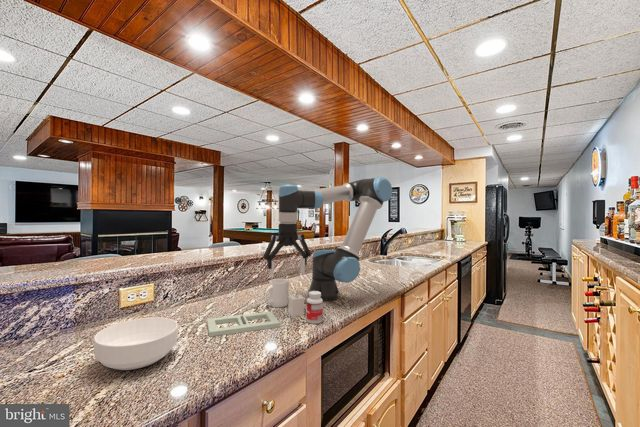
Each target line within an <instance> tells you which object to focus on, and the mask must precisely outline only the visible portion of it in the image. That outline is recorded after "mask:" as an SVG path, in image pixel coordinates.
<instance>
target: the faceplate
mask: <svg viewBox="0 0 640 427" xmlns="http://www.w3.org/2000/svg"><path fill="white" fill-rule="evenodd" d="M261 319H266V320H267V321H265V322H264V321H263V322H256V323H249V321H253V320H261ZM236 322H237V325H232V326H226V327H217V325H221V324H229V323H236ZM206 325H207V332H208V337H209V338H210V337H218V336H225V335H232V334H233V335H234V334H238V333H239V334H240V333H247V332H252V331H261V330H268V329H275V328H280V327H281V322H280V321H279V320H278V318H276V316H275V315H274V313H273V312H272V311H263V312H257V313H256V312H254V313H246V314H237V315H229V316H220V317H212V318H211V317H210V318H207V320H206Z"/></svg>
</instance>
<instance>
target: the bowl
mask: <svg viewBox="0 0 640 427" xmlns="http://www.w3.org/2000/svg"><path fill="white" fill-rule="evenodd" d="M178 333H179V324H178V322H177V321H176V320H174V319H171V318H169V317H168V318H167V317H158V316H157V317H153V316H152V317H142V318H134V319H129V320H125V321H121V322H118V323H114V324H112V325H109V326H107V327H105V328H103V329H101V330H100V331H98V332H97V333H96V334H95V335H94V338H93V353H94V359H95V360H96V361H98V362H99V363H101V364H102V366H105V367H106V368H111V369H113V370H116V371H117V370H118V371H131V370H137V369H141V368H144V367H148V366H150V365H153V364H154V363H156V362H158V361H160V360H162V359H163V357H166V356H167V355H168V354H169V353H170V352H171V350H172V348H174V347H175V346H176V344H177V342H178Z"/></svg>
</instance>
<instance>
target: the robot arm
mask: <svg viewBox="0 0 640 427" xmlns="http://www.w3.org/2000/svg"><path fill="white" fill-rule="evenodd" d="M298 188H299V187H298V185H296V184H281V185H280V186H279V188H278V234H277V235H273V234H272V235H270V240H269V243H268V244H267V248H266V249H265V251H264V253H263V256H262V258H263V259H264V260H267V263H266V264H267V269H269V277H270V278H271V279H273V278H274V277H275V276H274V274H275V273H274V272H275V261H274V260H273V259H274V258H275V257H276V255H277V254H278V253H279V252H280V250H281V249H282V248H283V247H294V248H295V250H297V252H298V254H300V256H301V257H300V263H299V264H300V270H299V271H300V274H302V275H305V273H306V266H307V263H308V261H307V259H308V258H309V257H310V256H312V266H311V267H312V268H311V269H312V270H311V272H312V275H311V277H312V278H311V284H310V286H309V289H308V293H307V296H308V297H309V292H310V291H319V292H321V297H320V298H322V300H323V301H324V302H325V301H333V300H337V299H339V297H340V292H339V288H338V284H337V282H339V283H345V284H347V283H349V284H350V283H351V282H353V281H355V280H356V279H357V278H358V276H359V274H360V271H361V267H360V266H361V264H360V255H359V252H360V250H361V248H362V245H363V243H364V241H365V239H366V236H367V233H368V231H369V229H370V226H371V224H372V223H373V221H374V220H373V219H374V217H375V216H376V213H377V211H378V210H380V209H381V208H382V207H383V205H384V203H385V202H388V201H389V200H390V199H391V198H392V196H393V187H392V184H391V182H390V180H389V179H387V178H386V177H379V176H378V177H375V178H374V177H372V178H362V179H358V180H355V181H350V182H344V184H342V185H338V186H337V185H336V186H330V187H321V188H316V189H314V188H313V189H306V190H300V189H298ZM341 201H345V202H348V203H349V202H359V205H358V208H357V210H356V213H355V215H354V216H353V219H352V221H351V223H350V225H349V228H348V230H347V232H346V234H345V235H344V236H345V237H344V239H343V242H342V243H341V245H340V246H338V247H336V249H320V250H314V251H313V253H311V251H310V249H309V247H308V244H307V242H306V240H305V234H301V233H300V234H298V224H297V223H298V209H311V210H315V209H321V208H322V206H323V204H324V205H325V204H329V203H336V202H341ZM277 240H278V242H277ZM297 240H299V242H300V244H301V246H300V245H299V243H298V241H297ZM276 242H277V244H276ZM275 244H276V245H275ZM274 246H275V247H274ZM273 248H274V249H273ZM302 248H303V249H302Z"/></svg>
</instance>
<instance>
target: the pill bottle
mask: <svg viewBox="0 0 640 427" xmlns="http://www.w3.org/2000/svg"><path fill="white" fill-rule="evenodd" d="M308 292H309V291H308ZM320 297H321V292H319V291H310V292H309V296H308V298H307V299H306V317H305V318H306V322H307V323H308V324H312V325H315V324H317V325H318V324H320V323H322V322H323V310H324V309H323V306H324V305H323V303H324V302H323V300H322V298H320Z"/></svg>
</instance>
